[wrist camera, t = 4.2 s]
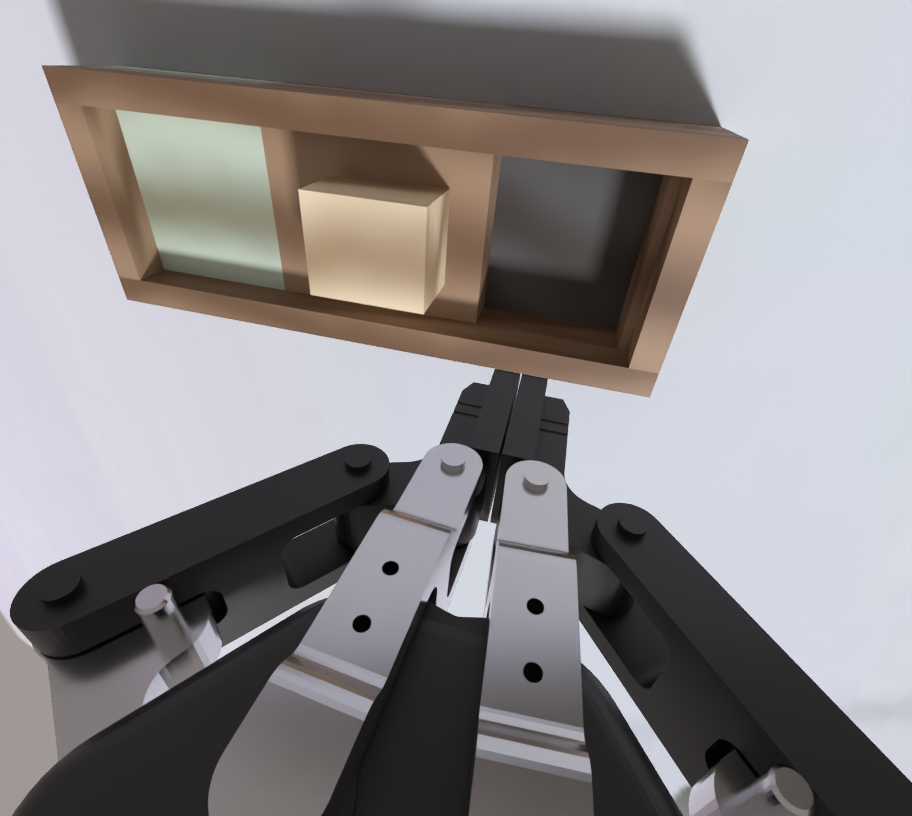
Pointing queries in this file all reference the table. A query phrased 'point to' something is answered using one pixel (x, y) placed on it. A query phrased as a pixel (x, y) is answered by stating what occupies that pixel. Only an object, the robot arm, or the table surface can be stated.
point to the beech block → (375, 241)
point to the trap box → (418, 162)
